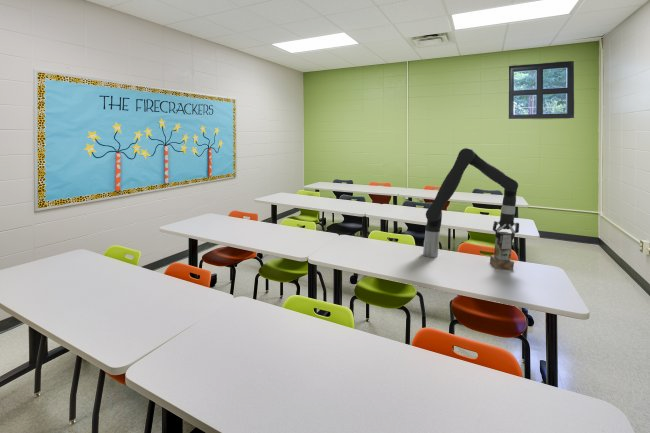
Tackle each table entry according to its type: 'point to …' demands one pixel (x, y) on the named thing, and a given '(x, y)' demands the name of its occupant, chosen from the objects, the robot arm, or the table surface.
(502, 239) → the coffee box
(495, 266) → the walnut block
